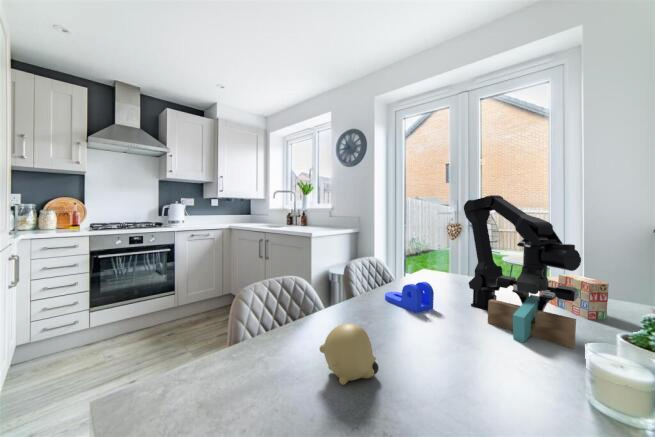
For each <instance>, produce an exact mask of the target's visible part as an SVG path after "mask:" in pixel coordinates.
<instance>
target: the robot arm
mask: <svg viewBox="0 0 655 437" xmlns="http://www.w3.org/2000/svg"><path fill="white" fill-rule="evenodd" d="M492 211H495V212H496V213H497V214H498V215H499V216H501V217H502V218H504V219H505V220H507V221H508V222H509V223H510V224H512V225H513V226H514V229H515V231H516V233H518V235H519V236H520V237H521V238H522V240H520V241H519V242H518V243H517V244H516V246H518V247H521V248H523V255H522V256H523V257H522V258H523V260H522V266H521V272H520V274H519V275H518V277H517V278H516V277H514V276H509V275H504V274H503V268H502V266H501V265H497V264H496V262H495V261H494V256H493V251H492V250H493V249H492V245H491V239H490V233H489V226H488V220H489V218H490V216H491V212H492ZM463 212H464V215H465V218H466V220H468V222H469V224H471V229H472V234H473V240H474V246H475V252H476V258H477V264H476V266H475V268H474V277H473V278H472V279H471V280H470V281H469V282H468V286H469V289H470V290H472V296H473V297H472V303H470V306H471V307H475V308H478V309H482V310H486V311H488V301H489V300H491V299H493V300H497V295H496V291H497V292H498V291H500V289H501V288H503V289H508V288H509V287H513V288H512V291H511V292H512V293H515V294H516V295H517V296H518V297H519V299H520V302H521V305H522V304H523V303H524V302H525V301H526V300H527V299H528V297H529V296H530V295H537V294H538V293H539V292H540V291H541V292H542V293H543V294H542V295H541V296H539V299H540V302H539V308H538V310H540V311H544V312H545V309H546V306H547V305H548V304H549V303H548V302H549V301H550V300H553V299H555V298H556V297H557V298H558V299H562V300H567V301H575V300H576V299H577V298H578V290H577V289H576V288H575V287H569V286H563V285H559V286H558V287H550V286H549V282H548V278H547V276H548V267H550V268H556V269H559V270H560V269H561V270H566V271H569V272H574V271H576V270H577V269H578V268H579V267H580V266H581V263H582V257H581V254H580V253H579V251H578V250H576V245H575V244H572V243H566V244H565V243H563V242H562V240H561V239H560V237H559V236H558V235H557V233H556V231H555V230H554V225H553V224H552V223H551V222H550V221H547V220H545V219H542V218H540V217H537V216H536V217H535V216H532V215H529V214H527V213H525V212H524V211H522V210H521V209H519V208H518V207H517V206H515V205H513V204H512V203H510V202H509V201H508V200H506V199H505V198H504V197H503V196H502V195H495V194H494V195H493V194H492V195H490V194H489V195H487V196H486V195H485V196H484V197H480V198H475V199H469V200H467V201H466V202H465V203H464V204H463Z"/></svg>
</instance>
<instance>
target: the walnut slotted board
mask: <svg viewBox="0 0 655 437" xmlns="http://www.w3.org/2000/svg"><path fill="white" fill-rule="evenodd" d="M520 306H521V305H518V304H513V303H510V302H504V301H502V300H498V299H496V300H493V299H491V300H489V301H488V310H487V324H489V325H492V326H496V327H498V328H499V327H500V328H503V329H506V330H509V331H512V332H513V314H514V313H515V312H516V311H517V310H518V309H519V308H520ZM576 328H577V318H574V317H569V316H565V315H560V314H557V313H552V312H548V311H545V310H544V311H540V310H538V311H536V318H535V322H534V321H531V334H530V335H529V337H533V338H535V339H540V340H543V341H547V342H550V343H554V344H556V345H560V346H563V347H567V348H569V349H570V348H571V349H574V348H575V347H576V333H577V332H576V330H577V329H576Z"/></svg>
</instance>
